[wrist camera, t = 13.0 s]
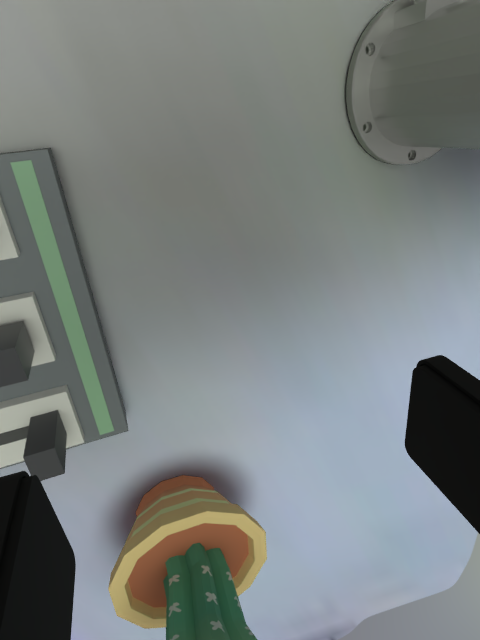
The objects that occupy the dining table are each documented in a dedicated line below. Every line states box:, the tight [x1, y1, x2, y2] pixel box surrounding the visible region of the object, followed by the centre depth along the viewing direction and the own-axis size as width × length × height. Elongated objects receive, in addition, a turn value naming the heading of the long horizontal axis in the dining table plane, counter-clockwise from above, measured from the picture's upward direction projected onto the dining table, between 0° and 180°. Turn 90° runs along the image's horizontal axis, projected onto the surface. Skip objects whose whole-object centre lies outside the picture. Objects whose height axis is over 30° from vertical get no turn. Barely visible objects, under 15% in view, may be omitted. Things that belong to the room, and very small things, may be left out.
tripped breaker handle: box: [0, 321, 35, 387], centre depth 26 cm, size 2×2×4 cm
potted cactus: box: [109, 475, 267, 640], centre depth 35 cm, size 15×15×25 cm
